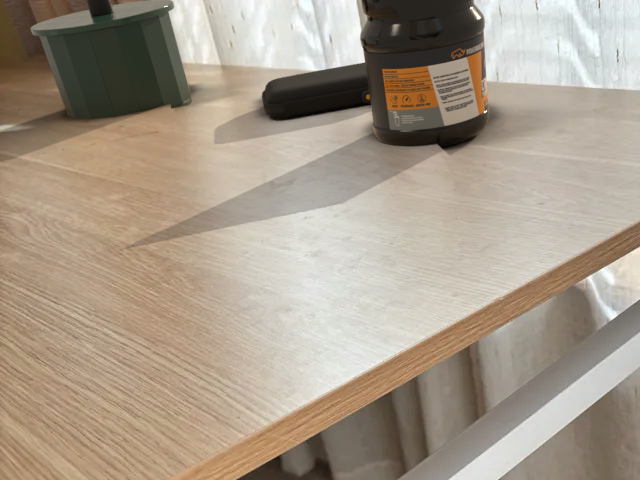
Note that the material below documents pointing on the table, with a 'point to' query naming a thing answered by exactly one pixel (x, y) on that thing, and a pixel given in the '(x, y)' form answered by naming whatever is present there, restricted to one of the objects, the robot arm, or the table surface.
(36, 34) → the lid
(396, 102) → the supplement container
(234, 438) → the table surface
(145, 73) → the tin
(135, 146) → the table surface
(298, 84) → the carrying case
